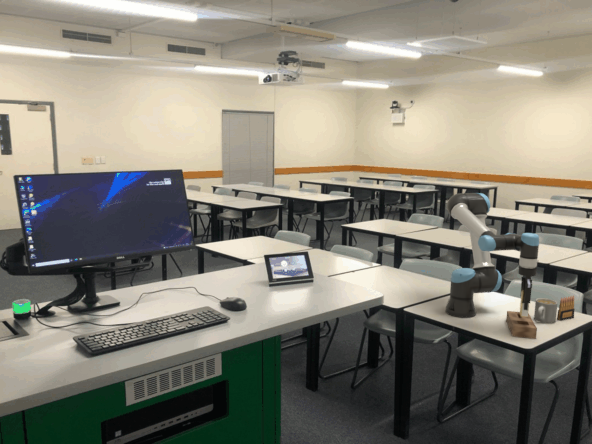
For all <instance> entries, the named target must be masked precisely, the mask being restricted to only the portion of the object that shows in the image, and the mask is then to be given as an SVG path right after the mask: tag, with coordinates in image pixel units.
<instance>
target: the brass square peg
mask: <svg viewBox="0 0 592 444" xmlns="http://www.w3.org/2000/svg"><path fill="white" fill-rule="evenodd" d="M520 295H521V296H520V305H519V306H520V307H519V312H520V316H521V315H522V302H521V301H523V296H524V290H522V291H521V290H520ZM529 312H530V311H529V310H528V313H529ZM521 317H527V316H521Z"/></svg>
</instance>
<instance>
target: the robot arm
mask: <svg viewBox="0 0 592 444" xmlns="http://www.w3.org/2000/svg"><path fill="white" fill-rule="evenodd" d="M446 210H447V212H448V214H449V216H450V217H452V219H454V220H457V221H458V222H460V224H462V226H463V227H465V228H466V229H467V231H468V232H469V236H470V243H471V250H472V257H473V267H472V268H469V267H462V268H461V267H460V268H457V269H454V270H453V271H452V272H451V274H450V275H451V276H450V290H449V291H450V293H449V299H448V302H447V303H446V305H445V313H447V314H448V315H449V316H453V317H456V318H473V317H475V316H476V314H477V311H476V310H477V309H476V307H475V302H474V294H483V293H488V294H489V293H493V292H497V291H498V290H499V289H500V288H501V286H502V283H503V282H502V281H503V277H502V273H500V271H499V270H498V269H496V266H495V264H493V263H492V259H491V252H498V251H517V252H519V261H518V265H519V266H518V274H519V275H521V285H520V292H521V291H522V290H524V296H523V301H521V300H520V303H521V302H522V315H521V316H527V317H528V313H529V312H528V310H529V309H530V304H531V299H532V298H531V297H532V288H533V279H532V277H535V276H537V267H538V263H539V262H540V261H539V259H538V258H539V257H538V256H539V248H540V236H539V234H537V233H534V232H533V233H532V232H524V233H521V235H520V234H518V233H514V232H513V233H512V232H507V233H505V234H495V233H494V232H493V230H491V229H490V228H489V227H488V226H487V225H486V219H487V217H488V213H489V212H490V210H491V202H490V198H489V197H488V196H487V195H486V194H484V193H482V192H480V193H479V192H467V193H465V192H463V193H460V192H458V193H455V194H453V195H452V196H450V198H449V199H448V200H447V203H446ZM519 296H520V297H521V294H520V295H519Z"/></svg>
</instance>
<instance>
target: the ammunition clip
mask: <svg viewBox="0 0 592 444" xmlns="http://www.w3.org/2000/svg"><path fill="white" fill-rule="evenodd" d="M559 301H560V302H559V305H558V309H557V315H556V321H560V322H562V321H566V320H567V321H568V320H571V319H574V317H575V295H570V296H565V297H564V296H563V297H561V298H560V300H559Z"/></svg>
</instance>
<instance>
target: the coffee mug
mask: <svg viewBox="0 0 592 444" xmlns="http://www.w3.org/2000/svg"><path fill="white" fill-rule="evenodd" d="M557 314H558V301H556V300H554V299H551V298H543V297H539V298H535V305H534V315H533V319H534V321H536V322H539V323H543V324H555V323H556V321H557Z"/></svg>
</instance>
